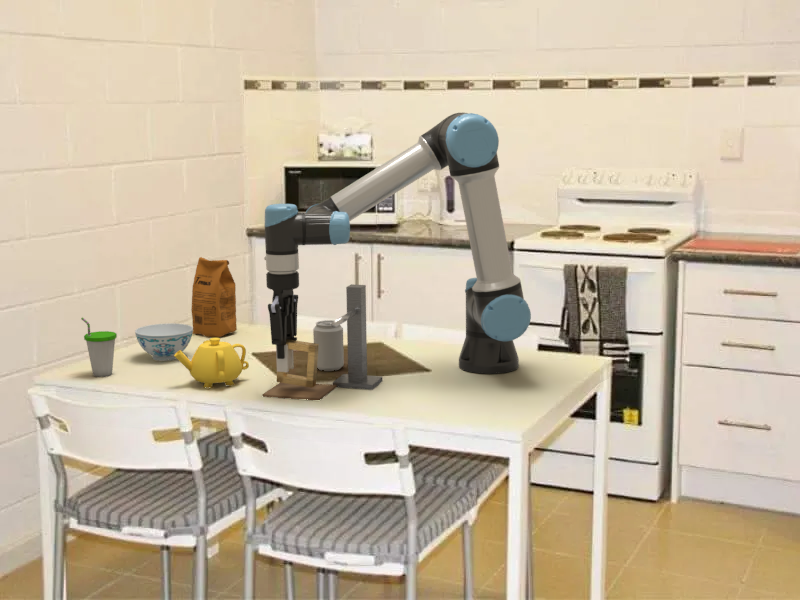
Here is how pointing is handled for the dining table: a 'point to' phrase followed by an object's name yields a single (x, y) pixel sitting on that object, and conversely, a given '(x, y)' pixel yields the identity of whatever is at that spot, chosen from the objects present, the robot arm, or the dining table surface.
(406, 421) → the dining table surface
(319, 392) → the walnut board
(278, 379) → the c link
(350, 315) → the stand
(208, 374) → the teapot
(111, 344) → the cup
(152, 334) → the chinaware
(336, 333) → the can
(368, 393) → the dining table surface
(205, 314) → the coffee package
